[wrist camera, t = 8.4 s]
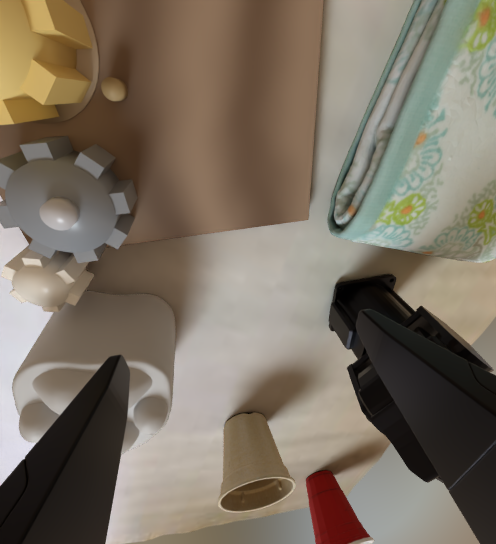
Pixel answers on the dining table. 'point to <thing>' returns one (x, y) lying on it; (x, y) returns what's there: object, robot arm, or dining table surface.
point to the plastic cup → (333, 512)
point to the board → (196, 110)
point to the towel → (428, 140)
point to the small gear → (47, 279)
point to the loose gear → (39, 59)
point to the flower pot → (252, 466)
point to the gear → (66, 198)
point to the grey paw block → (100, 362)
